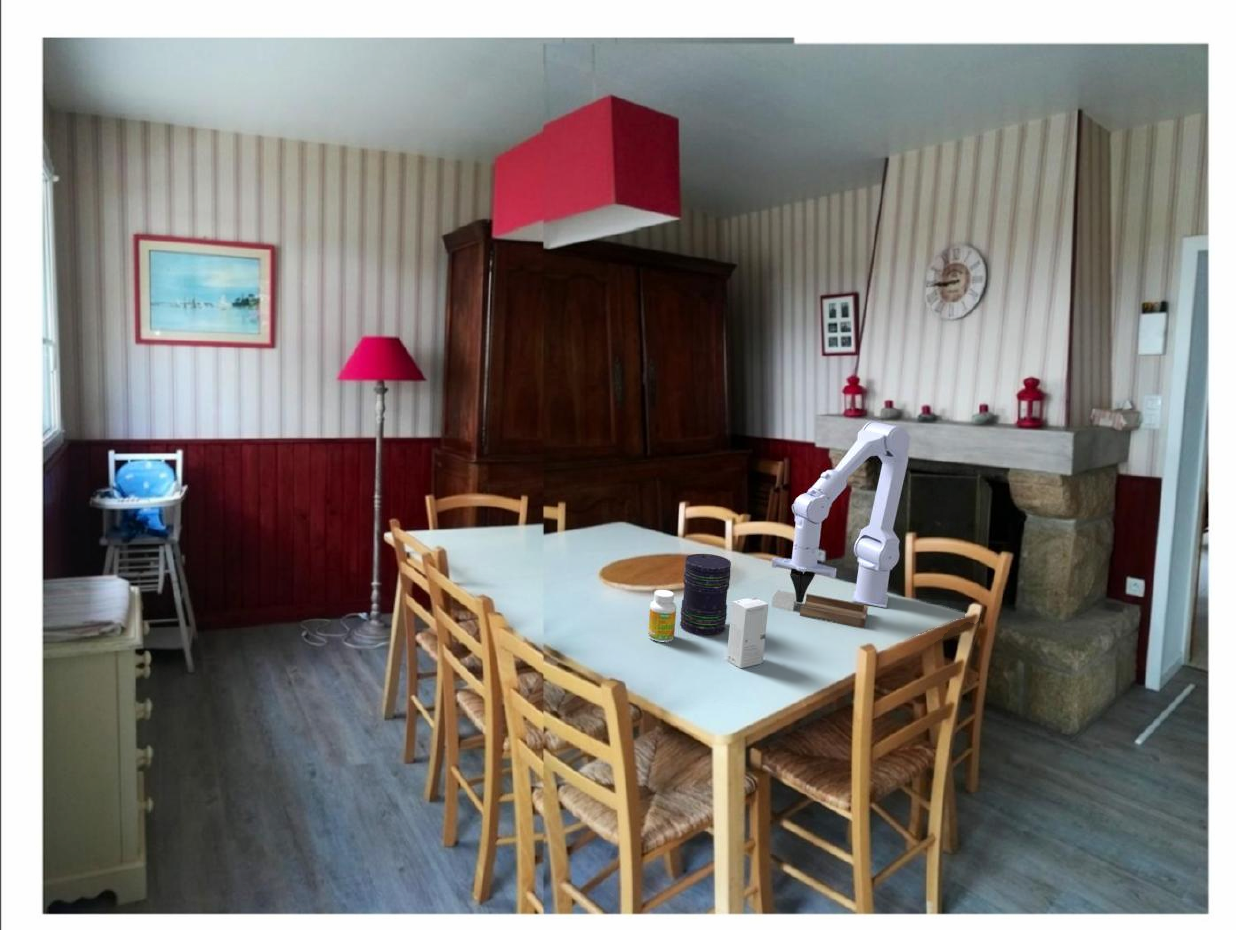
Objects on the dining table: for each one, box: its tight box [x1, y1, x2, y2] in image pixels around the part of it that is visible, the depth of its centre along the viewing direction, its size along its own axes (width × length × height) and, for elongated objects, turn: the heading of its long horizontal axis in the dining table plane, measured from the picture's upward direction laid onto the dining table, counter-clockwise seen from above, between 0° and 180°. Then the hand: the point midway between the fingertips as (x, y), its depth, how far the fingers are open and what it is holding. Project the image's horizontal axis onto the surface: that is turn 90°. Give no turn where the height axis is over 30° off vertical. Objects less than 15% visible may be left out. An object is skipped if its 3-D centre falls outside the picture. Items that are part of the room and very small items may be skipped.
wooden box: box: [799, 593, 869, 629], centre depth 167 cm, size 10×14×2 cm
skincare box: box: [726, 597, 769, 669], centre depth 139 cm, size 6×4×12 cm
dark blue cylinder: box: [679, 553, 732, 637], centre depth 154 cm, size 10×10×15 cm
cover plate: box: [771, 590, 799, 612], centre depth 172 cm, size 6×5×2 cm
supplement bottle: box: [647, 589, 677, 643], centre depth 148 cm, size 5×5×10 cm
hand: (799, 601), depth 170 cm, fingers closed
